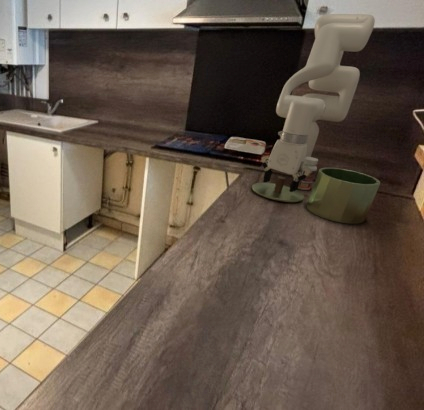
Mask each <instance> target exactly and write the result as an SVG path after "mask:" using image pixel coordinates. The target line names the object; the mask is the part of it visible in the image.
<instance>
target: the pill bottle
mask: <svg viewBox="0 0 424 410" xmlns="http://www.w3.org/2000/svg"><path fill="white" fill-rule="evenodd" d="M318 162H319V159H318V158H316V157H313V156H311V157H307V156H306V157H305V162H304V164H305V165H306V166H307V167H309V168H310V169H311V170H312V173H311V174H310V175H309V176H308V177H307V178H305V179H303V180H301V181H300V183H299V186H298V189H297V190H301V191H309V190H311V188H312V187H313V184H314V180H315V178H316V177H315V176H316V174H317V170H318V167H317V165H318ZM300 173H301V176H302V175H303V174H304V173H305V171H304V170H303V169H302V171H301V172H300ZM292 181H294V179H293V180H292Z"/></svg>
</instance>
